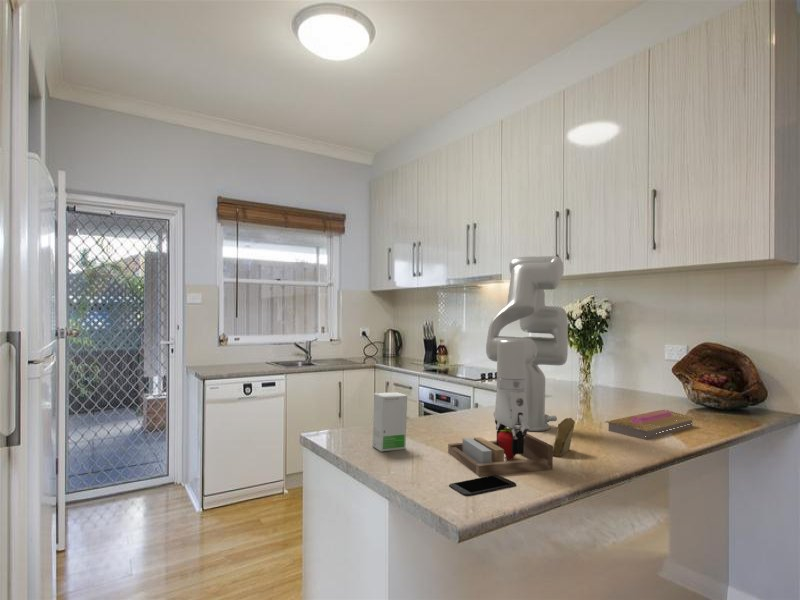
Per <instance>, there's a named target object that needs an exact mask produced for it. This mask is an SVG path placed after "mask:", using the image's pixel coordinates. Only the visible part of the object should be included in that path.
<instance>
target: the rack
mask: <svg viewBox="0 0 800 600" xmlns="http://www.w3.org/2000/svg"><path fill="white" fill-rule="evenodd" d="M508 429H511V428H508ZM518 432H519V430H518V431H517V432H516V433H518ZM488 441H489V442H491V443H493V444H495V445H497V444H496V443H497V439H495V440H488ZM447 445H448V446H447V450H448V451H447V453H448V454H449V455H450V456H452V457H453V458H454V459H455V460H457V461H459V462H460V464H462V465H463V466H465V467H466V468H467V469H468V470H470V471H472V473H474V474H475V475H477V477H487V476H492V475H503V474H504V475H505V474H507V475H508V474H516V473H517V474H518V473H526V472H528V473H529V472H538V471H547V470H548V471H550V470H553V469H554V467H553V463H554V460H553V459H554V458H553V457H554V455H553V445H552V444H550V443H548V442H545V441H544V440H541V439H540V438H538V437H536V436H533V435H531V434H529V433H526V435H525V439H524V452H523V454H519V455H520V456H521V457H522V456H523V457H524V458H526V459H518V460H508V461H507V460H506V461H505V460H504V462H493V463H481V464H479V463H477V462H476V461H475V460H473V459H472V458H470V457H469V456H468V455H466V454H465V453H463V452H462V447H463V442H456V443H448V444H447ZM497 446H498V447H500V446H499V445H497Z"/></svg>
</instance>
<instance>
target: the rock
mask: <svg viewBox="0 0 800 600" xmlns="http://www.w3.org/2000/svg"><path fill="white" fill-rule="evenodd" d="M575 426H576V421H575V420H574V419H573V418H572V417H566V418H564V419H563V420H561V422H559V423H558V424H557V431H556V434H555V439H554V444H553V445H552V446H553V457H554V456H555V457H559V458H560V457H561V456H563V455H564V454H566V453H567V452H568V451H569V450H570V448H571V445H572V444H571V443H572V442H571V441H572V437H573V433H574V429H575Z"/></svg>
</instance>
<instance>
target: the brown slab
mask: <svg viewBox="0 0 800 600" xmlns="http://www.w3.org/2000/svg"><path fill="white" fill-rule="evenodd" d="M676 420H677V421H676ZM694 420H697V418H696V417H693V416H689V415H685V414H683V413H680V412H675V411H672V410H668V409H661V410H653V411H649V412H645V413H639V414H634V415H630V416H625V417H621V418H615V419H610V420H606V421H605V423H608V432H610V433H611V432H612V433H616V434H620V435H624V436H627V437H630V438H631V437H633V438H635V439H640V440H644V441H646V440H650V439H654V438H657V437H661V436H664V435H668V434H671V433H675V432H678V431H683V430H685V429H689V427H690V428H693V421H694ZM691 423H692V424H691ZM687 424H690V425H687ZM684 425H686V426H684ZM680 426H683V427H680ZM677 427H679V428H677ZM673 428H675V429H673ZM669 429H672V430H669ZM666 430H668V431H666ZM662 431H664V432H662ZM659 432H661V433H659ZM656 433H657V434H656ZM645 436H646V437H645Z"/></svg>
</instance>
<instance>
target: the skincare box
mask: <svg viewBox="0 0 800 600" xmlns="http://www.w3.org/2000/svg"><path fill="white" fill-rule="evenodd" d="M407 411H408V395H407V394H404V393H400V392H374V393H373V420H372V421H373V422H372V425H373V426H372V447H373V448H375V449H376V450H377V451H379V452H380V453H381V452H388V451H389V452H390V451H398V450H406V448H407V446H406V444H407V443H406V441H407V416H408V415H407Z"/></svg>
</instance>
